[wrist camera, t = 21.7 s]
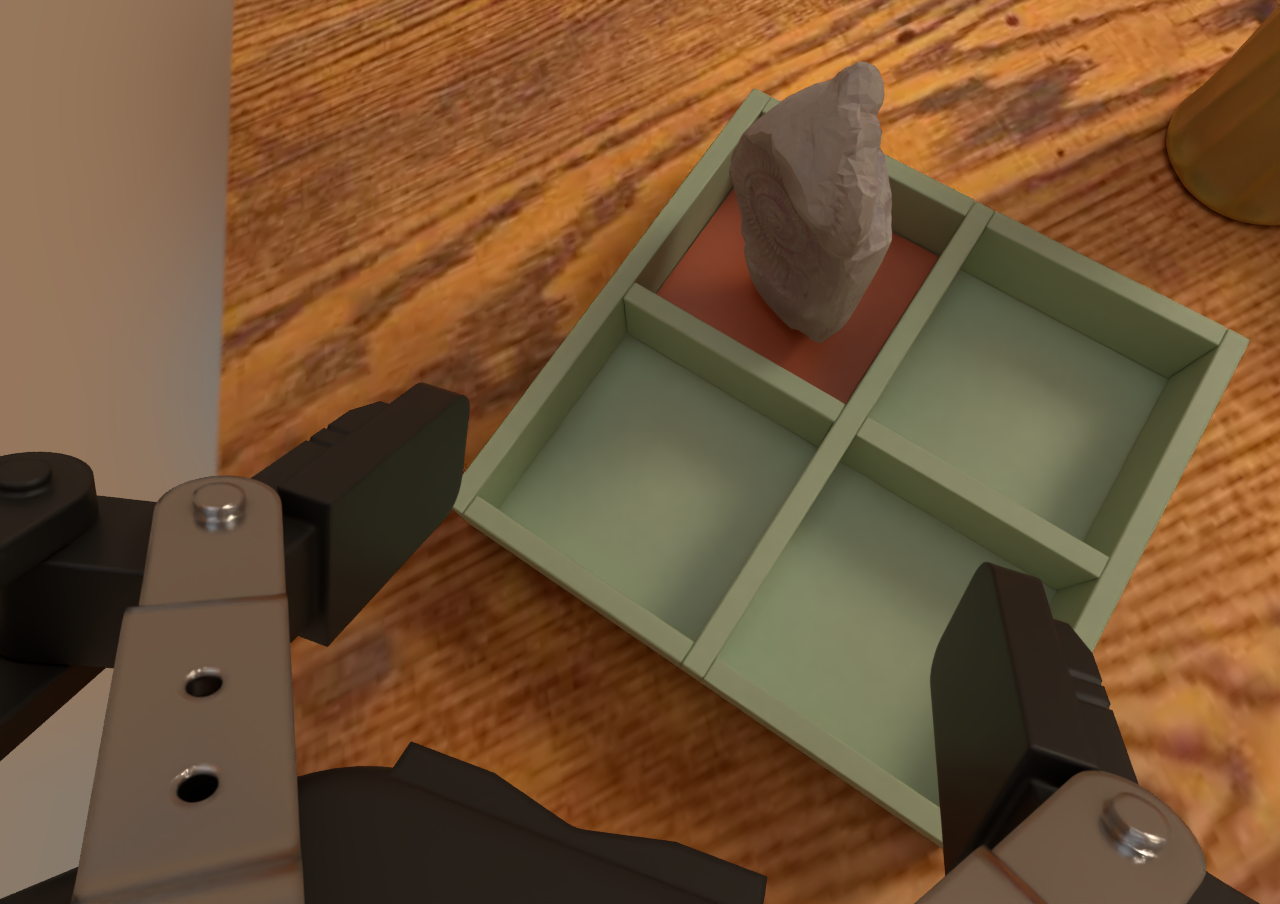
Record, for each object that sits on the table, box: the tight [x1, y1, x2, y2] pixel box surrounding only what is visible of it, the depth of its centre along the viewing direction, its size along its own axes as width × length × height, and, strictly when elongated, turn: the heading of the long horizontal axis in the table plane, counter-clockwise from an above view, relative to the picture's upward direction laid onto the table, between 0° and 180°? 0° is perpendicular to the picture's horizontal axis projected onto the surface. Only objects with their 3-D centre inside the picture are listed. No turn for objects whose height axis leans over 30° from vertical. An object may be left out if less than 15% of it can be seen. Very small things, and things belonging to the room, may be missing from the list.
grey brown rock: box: [729, 62, 892, 343], centre depth 23 cm, size 6×4×10 cm, turn 25°
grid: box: [452, 89, 1250, 849], centre depth 25 cm, size 17×17×3 cm
